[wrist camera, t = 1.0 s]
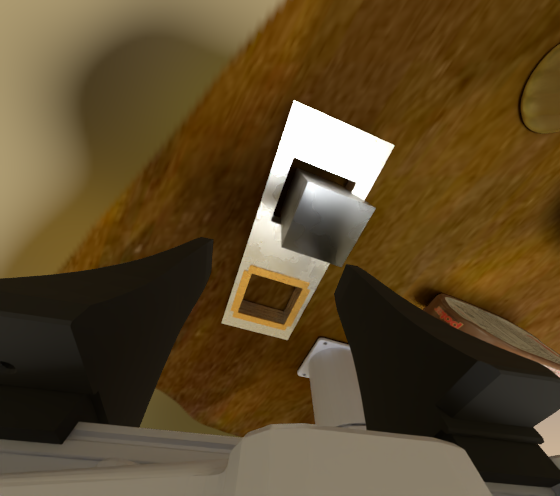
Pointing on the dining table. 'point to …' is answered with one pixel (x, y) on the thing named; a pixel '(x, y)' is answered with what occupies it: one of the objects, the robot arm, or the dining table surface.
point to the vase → (543, 95)
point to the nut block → (322, 218)
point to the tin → (492, 330)
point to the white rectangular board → (267, 227)
